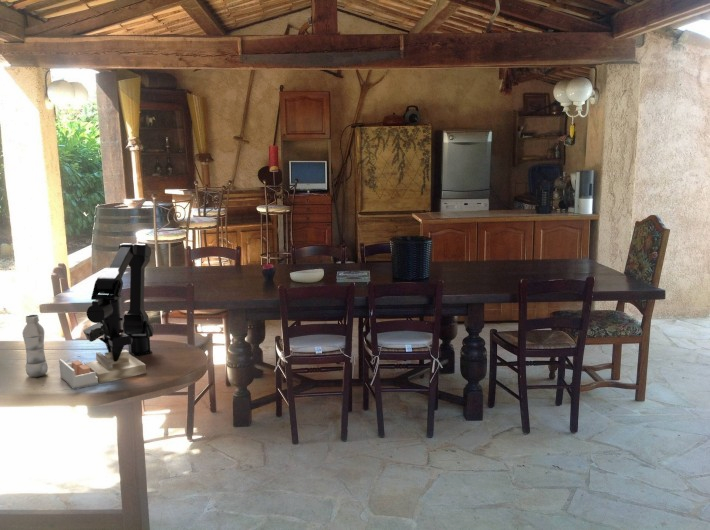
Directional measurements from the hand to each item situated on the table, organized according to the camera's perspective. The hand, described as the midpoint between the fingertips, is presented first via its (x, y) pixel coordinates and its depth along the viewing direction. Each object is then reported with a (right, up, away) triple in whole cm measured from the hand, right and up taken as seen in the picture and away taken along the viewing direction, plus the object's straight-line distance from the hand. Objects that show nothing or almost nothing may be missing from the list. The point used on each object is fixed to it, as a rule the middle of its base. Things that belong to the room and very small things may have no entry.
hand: (114, 360), depth 211 cm
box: (-9, -5, -7) cm, 12 cm away
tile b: (-5, -3, -8) cm, 10 cm away
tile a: (-9, -2, -4) cm, 10 cm away
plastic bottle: (-24, -5, -3) cm, 25 cm away
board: (0, -4, +1) cm, 4 cm away
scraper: (+1, -1, +1) cm, 1 cm away
